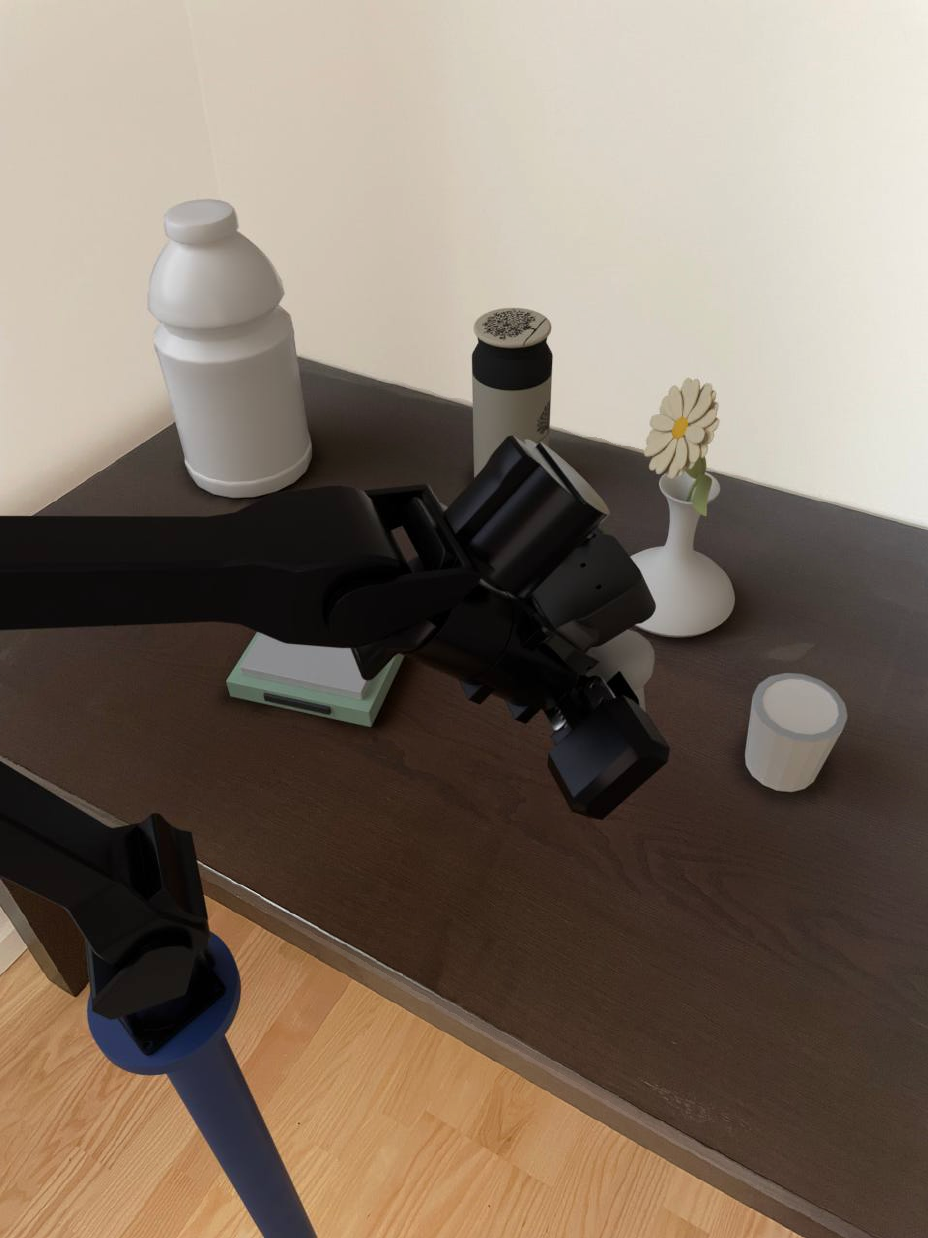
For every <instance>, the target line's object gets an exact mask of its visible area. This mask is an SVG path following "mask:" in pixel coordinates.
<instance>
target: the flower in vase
mask: <svg viewBox="0 0 928 1238" xmlns="http://www.w3.org/2000/svg"><path fill="white" fill-rule="evenodd" d="M716 398H717V392H716V390H715V389H714V390H713V384H712V383H708V382H706V383H704V384H703V385H702V386H701V383H700V380H699V378H694V379H693V380H692V379H691V378H690V377H687V378H685V379H684V380H683V382H682V385H681V387H680V389H679V387H678V386H676V385H672V386H670V388H669V390H668V392H667V395H666V396H664V397H663V398H662V400H661V405H660V406H659V413H657V414H656V413H655V414H654V415H652V416H651V418H650V420H649V426H650V427H651V430H650V431H649V434H648V435H647V437H646V439H645V443H646V445H647V446H645V448H644V451H643V454H644V457H645V458H649V457H652V458H651V460H650V462H649V465H648V469H649V470H650V471H653V472H654V471H655V473H656V475H661V474H663V473H664V472H665V471H666V472H665V473H664V474H663V475H662V476H661V477H660V478H659V483H658V484H659V488H660V492H662V493H661V494H663V496H664V497H665V498H666V500H667V503H668V508H669V527H668V534H667V539H666V542H665V544H664V545H660V546H654V547H650V548H647V549H644V550H642V551H639V552H637V553H635V554H632V555H631V556H630V555H629V556H630V557H631V559H632V560H633V561H634V562H635V564H636V565H637V566H638V568H639V569H640V571H641V573H642V575H643V577H644V579H645V582H646V584H647V586H648V588H649V590H650V592H651V594H652V597H653V599H654V601H655V603H656V609H655V612H654V614H653V615H652V616H651V617H650V618H649V619H648V620H646V621H645V622H643V623H641V624H636V625H634V626H635V627H637V628H638V629H640V630H642V631H644V632H647V633H649V634H652V635H657V636H660V637H667V638H691V637H696V636H700V635H703V634H706V633H708V632H710V631H713V630H714V629H716V628H718V626H720V625H722V624H723V623H724V622H726V620H727V619H728V618H729V617H730V616H731V614H732V612H733V611H734V607H735V602H736V597H735V596H736V595H735V591H734V587H733V584H732V581H731V580H730V577H729V576H728V574H727V572H726V571H724V570H723V568H722V567H720V565H718V564H717V563H716V562H715V561H714V560H712V559H711V558H710V557H708V556H706V555H705V554H703V553H701V552H698V551H696V550H695V549H694V541H695V534H696V530H697V526H698V523H699V519H700V517H701V515H702V516H703V517H707V514H708V512H707V511H708V504H710V503H711V502H712V501H714V500H715V499H716V498H717V497H718V496H719V494H720V492H721V485H720V482H719V481H718V480H717V478H716V477H715V476H714V475H712V474H710V473H709V472H706V471H707V460H706V455H707V454H708V451H709V446H708V445H710V444H711V443H712V442H713V440H714V438H715V431H716V430H717V429H718V428H719V426H720V419H719V418H718V417H717V414H718V410H719V402H718V401H716Z"/></svg>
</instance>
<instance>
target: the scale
mask: <svg viewBox="0 0 928 1238" xmlns="http://www.w3.org/2000/svg"><path fill="white" fill-rule="evenodd" d="M404 658H405V656H404V655H401V654H397V655H396V656H395V657H394V658H393V659H392V660H391V661H390V662H389V663H388V664H387V665H386V666H385V667H384V668H383V669H382V670H381V671H380V672H379V673H378V674H377V676H376V677H375V678H374V679H372V680H369V681H366V680H364V679H363V678H362V677H361V674H360V672H359V669H358V667H357V664H356V662H355V659H354V657H353V654H352V652H351V649H350V648H332V647H320V646H308V645H296V644H286V643H283V642H280V641H278V640H275V639H273V638H271V637H268V636H266V635H264V634H261V633H259V632H257V631H256V633H255V635H254V636H253V638H252V640H251V641H250V642H249V644H248V646H247V647H246V649H245V650H244V652H243V654H242V655H241V657H240V658H239V660H238V661H237V663H236V665H235V666H234V668H233V669H232V671H231V672H230V674H229V676H228V677H227V679H226V681H225V682H226V686H227V689H228V692H229V696H230V697H232V698H236V699H240V700H245V701H250V702H255V703H259V704H263V705H268V706H272V707H277V708H282V709H286V710H291V711H295V712H301V713H305V714H308V715H309V714H310V715H312V716H313V715H314V716H318V717H321V718H322V717H323V718H328V719H332V720H337V721H341V722H345V723H350V724H354V725H359V726H362V727H369V728H372V726H373V724H374V723H375V720H376V718H377V716H378V713H379V712H380V710H381V708H382V705H383V703H384V701H385V699H386V697H387V694H388V692H389V690H390V688H391V686H392V684H393V682H394V679H395V677H396V675H397V673H398V672H399V669H400V667H401V665H402V662H403V661H404Z"/></svg>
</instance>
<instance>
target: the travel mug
mask: <svg viewBox="0 0 928 1238" xmlns="http://www.w3.org/2000/svg"><path fill="white" fill-rule="evenodd" d="M551 332H552V323H551V321H550V320H549V319H548V318H547V317H546V316H545V315H544V314H542V313H540V312H539V311H535V310H532V309H528V308H522V307H504V308H498V309H494V310H490V311H488V312H485V313H484V314H482V315H480V316H479V317H478V318H477V319H476V321H475V322H474V324H473V333H474V334H475V336H476V337H477V344H476V346H474V347H475V348H474V349H473V351H472V354H471V387H472V390H471V391H472V394H471V395H472V430H473V431H472V436H473V437H472V439H473V440H472V441H473V442H472V443H473V479H474V478H475V477H476V476H477V474H478V473H479V472H480V471H481V470H482V469H483V468H484V466H485V465H486V463H487V462H488V460H489V458H490V456H491V455H492V453H493V452H494V451H495V450H496V449H497V447H498V446H499V445H500V444H501V443H502V442H503V441H504V440H505V439H506V437H507V436H511V435H513V436H515V437H516V438H517V439H519V440H520V441H522V442H523V441H524V440H526V439H528V440H531V441H533V442H534V443H536V444H538V443H539V442H542V443H543V444H545V445H546V446H547V447H549V448H550V431H551V430H550V427H551V407H552V406H551V405H552V404H551V402H552V383H553V382H552V381H553V380H552V379H553V359H554V357H553V356H554V355H553V351H552V350H551V348H550V346H549V344H548V342H547V341H548V338H549V336H550V334H551Z"/></svg>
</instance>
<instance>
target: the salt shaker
mask: <svg viewBox="0 0 928 1238" xmlns="http://www.w3.org/2000/svg"><path fill="white" fill-rule="evenodd" d="M590 650H592V651H594V653H595V655H596V656H597V658H598V659H599V661H600V662H599V663H598V664H597V665H596V666H595V667H594V668H593V669H592V670H591V671H590V672H589V673H588V675H589V677H590V676H593V675H598V676H600V677H602V678H603V679H604V680H605V681H606V683H607V682H608V681H609V680H610V679H611V678H612V677H613V676H614V675H615V674H616V673H617V672H618V671H620V672H621V673H622V675H623V676H624V678H625V679H626V681H627V682H628V684H629V685H630V687H631V688H632V690H633V691H634V693H635V694H636V696H637V697H638V699H639V703H640V707H641V708H642V709H643V710H644V711H645V712H646V713H647V711H646V701H645V690H644V689H645V688H644V686H645V685H646V683H648V681H649V680H650V679H651V678H652V675H653V671H654V665H655V661H656V660H655V659H656V655H655V650H654V648H653V645H651V642H650V640H648V639H646V638H645V637H644V636H643V635H642V634H640V633H639V632H637V631H634V630H631V629H628V630H626V631H624V632H623V633H621V634H620V635H618V636H616V637H615V638H613V639H611V640H610V641H608V642H607V643H605V644H603V645H601V646H599V647H591V648H590Z"/></svg>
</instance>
